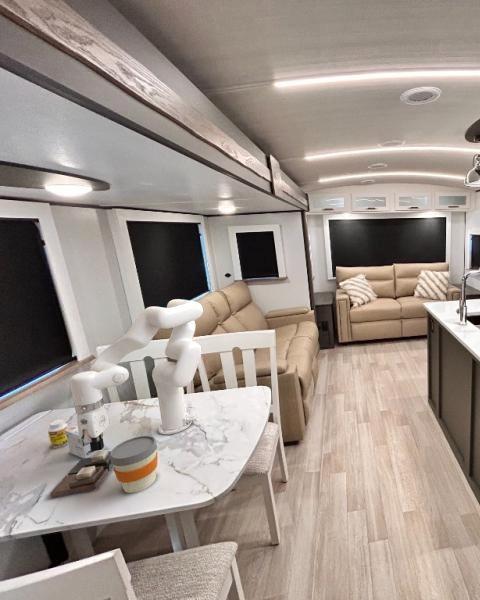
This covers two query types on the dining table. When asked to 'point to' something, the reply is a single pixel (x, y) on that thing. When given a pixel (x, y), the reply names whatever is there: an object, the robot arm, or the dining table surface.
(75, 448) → the light bulb box
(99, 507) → the dining table surface
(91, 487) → the key block
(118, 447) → the reusable coffee cup
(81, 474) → the key
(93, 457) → the key
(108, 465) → the key block
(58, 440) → the supplement bottle
